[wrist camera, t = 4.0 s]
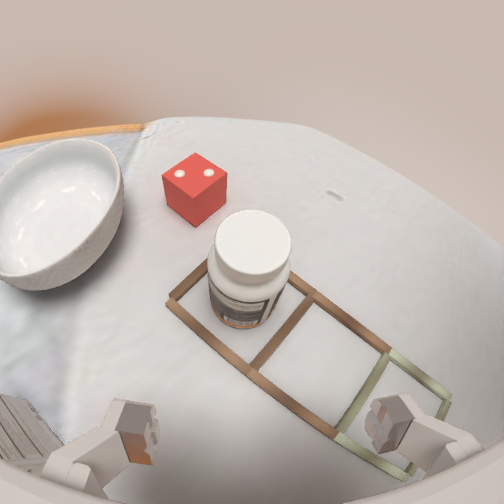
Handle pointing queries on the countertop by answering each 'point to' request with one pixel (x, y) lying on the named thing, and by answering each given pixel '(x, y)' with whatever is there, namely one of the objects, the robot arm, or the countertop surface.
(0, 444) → the supplement box
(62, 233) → the cereal bowl
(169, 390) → the countertop surface
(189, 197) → the red die
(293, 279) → the track frame
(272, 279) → the pill bottle
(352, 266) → the countertop surface
